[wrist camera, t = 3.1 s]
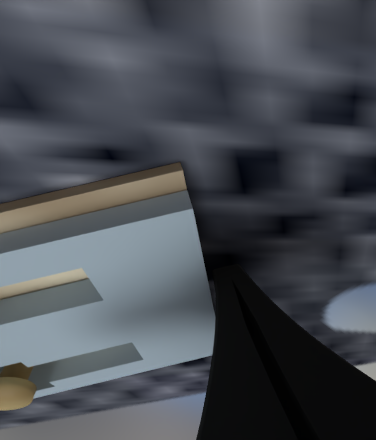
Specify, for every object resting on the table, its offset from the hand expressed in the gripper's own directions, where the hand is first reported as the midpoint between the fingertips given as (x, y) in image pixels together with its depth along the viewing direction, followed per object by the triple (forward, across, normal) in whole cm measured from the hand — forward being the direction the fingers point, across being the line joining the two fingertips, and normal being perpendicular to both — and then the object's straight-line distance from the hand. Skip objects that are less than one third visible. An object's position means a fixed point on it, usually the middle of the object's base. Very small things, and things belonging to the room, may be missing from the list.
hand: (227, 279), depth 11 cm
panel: (0, +8, 0) cm, 8 cm away
